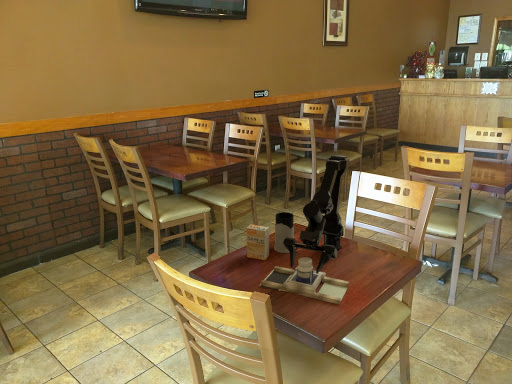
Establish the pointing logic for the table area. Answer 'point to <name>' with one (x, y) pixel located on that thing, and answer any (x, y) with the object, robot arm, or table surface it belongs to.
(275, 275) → the tray
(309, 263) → the pill bottle
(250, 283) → the table surface
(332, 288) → the pad
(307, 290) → the oak channel
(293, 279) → the collar carriage
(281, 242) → the glass holder
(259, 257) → the supplement box
